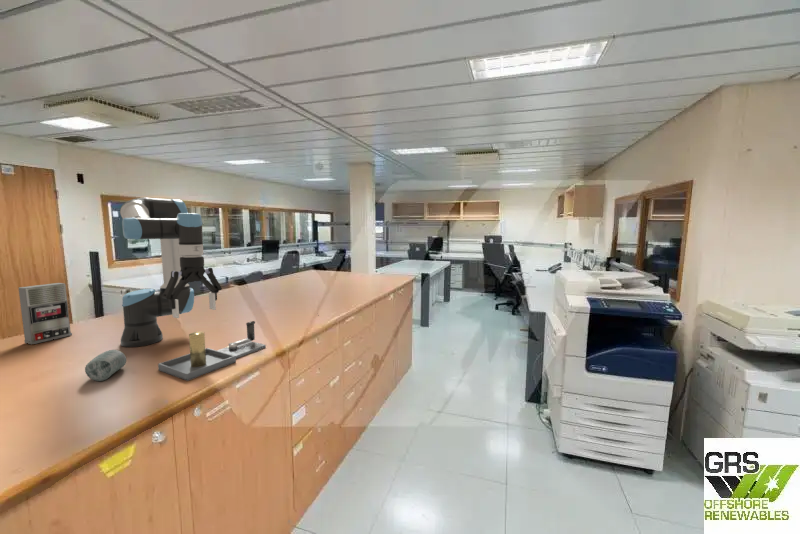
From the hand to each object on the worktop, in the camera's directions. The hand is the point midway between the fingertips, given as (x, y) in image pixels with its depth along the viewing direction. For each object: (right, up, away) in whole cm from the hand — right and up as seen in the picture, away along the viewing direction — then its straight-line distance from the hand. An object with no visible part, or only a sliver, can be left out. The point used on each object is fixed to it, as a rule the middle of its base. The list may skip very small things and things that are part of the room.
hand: (195, 313), depth 124 cm
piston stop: (0, -20, +2) cm, 20 cm away
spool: (-27, -21, -6) cm, 35 cm away
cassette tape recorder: (-84, -16, +29) cm, 91 cm away
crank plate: (+8, -19, +18) cm, 27 cm away
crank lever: (+8, -17, +22) cm, 28 cm away
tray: (0, -20, +2) cm, 20 cm away
